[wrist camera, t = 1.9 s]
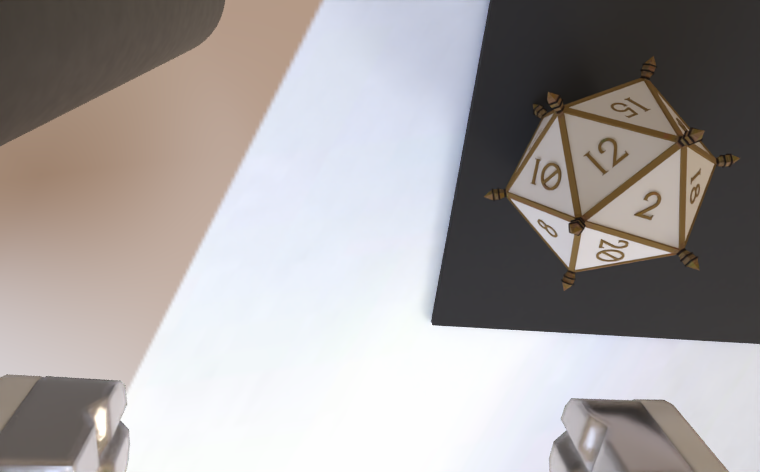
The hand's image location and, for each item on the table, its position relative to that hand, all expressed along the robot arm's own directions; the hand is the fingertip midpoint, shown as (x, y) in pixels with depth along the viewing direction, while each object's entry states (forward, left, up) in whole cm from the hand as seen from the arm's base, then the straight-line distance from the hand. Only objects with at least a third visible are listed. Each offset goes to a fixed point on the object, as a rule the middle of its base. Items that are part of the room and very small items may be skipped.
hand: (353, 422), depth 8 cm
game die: (+11, 0, -19) cm, 22 cm away
